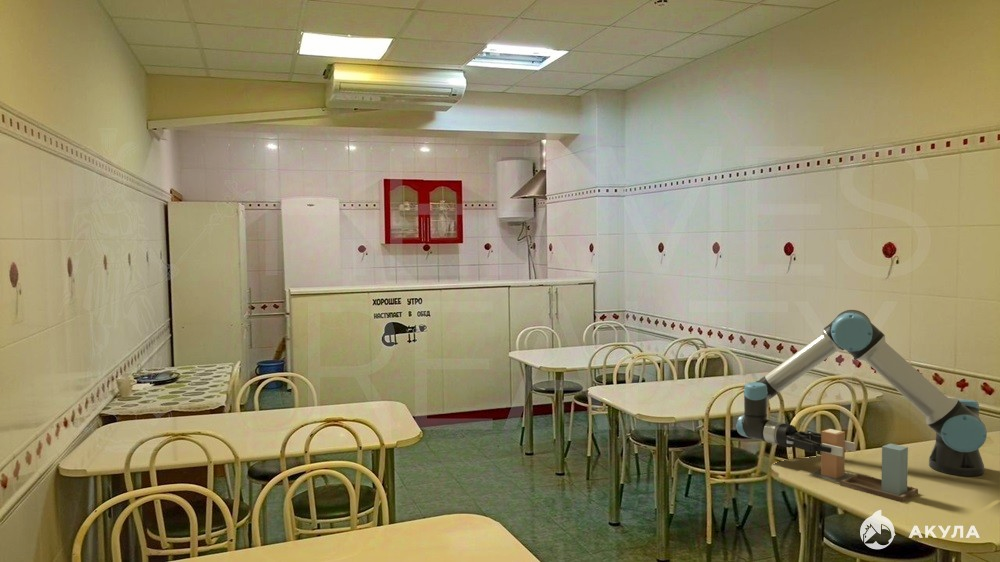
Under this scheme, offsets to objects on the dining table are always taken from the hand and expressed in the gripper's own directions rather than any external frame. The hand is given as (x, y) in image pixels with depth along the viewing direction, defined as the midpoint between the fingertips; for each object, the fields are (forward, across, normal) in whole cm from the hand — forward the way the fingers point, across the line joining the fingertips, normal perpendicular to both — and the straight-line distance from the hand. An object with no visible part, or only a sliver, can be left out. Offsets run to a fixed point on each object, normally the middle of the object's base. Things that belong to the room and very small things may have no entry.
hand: (848, 449), depth 219 cm
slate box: (+15, +2, -9) cm, 17 cm away
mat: (-5, 0, -10) cm, 11 cm away
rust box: (-5, 0, -9) cm, 11 cm away
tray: (+10, +2, -10) cm, 14 cm away
